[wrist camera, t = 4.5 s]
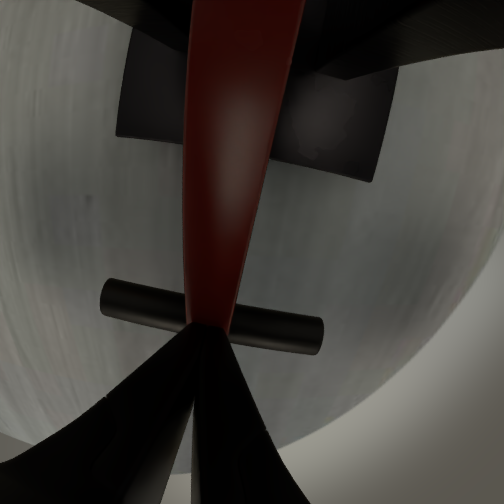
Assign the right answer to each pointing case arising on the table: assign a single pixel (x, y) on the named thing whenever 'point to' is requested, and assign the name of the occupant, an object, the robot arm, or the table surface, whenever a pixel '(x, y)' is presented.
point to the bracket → (306, 71)
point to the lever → (226, 176)
